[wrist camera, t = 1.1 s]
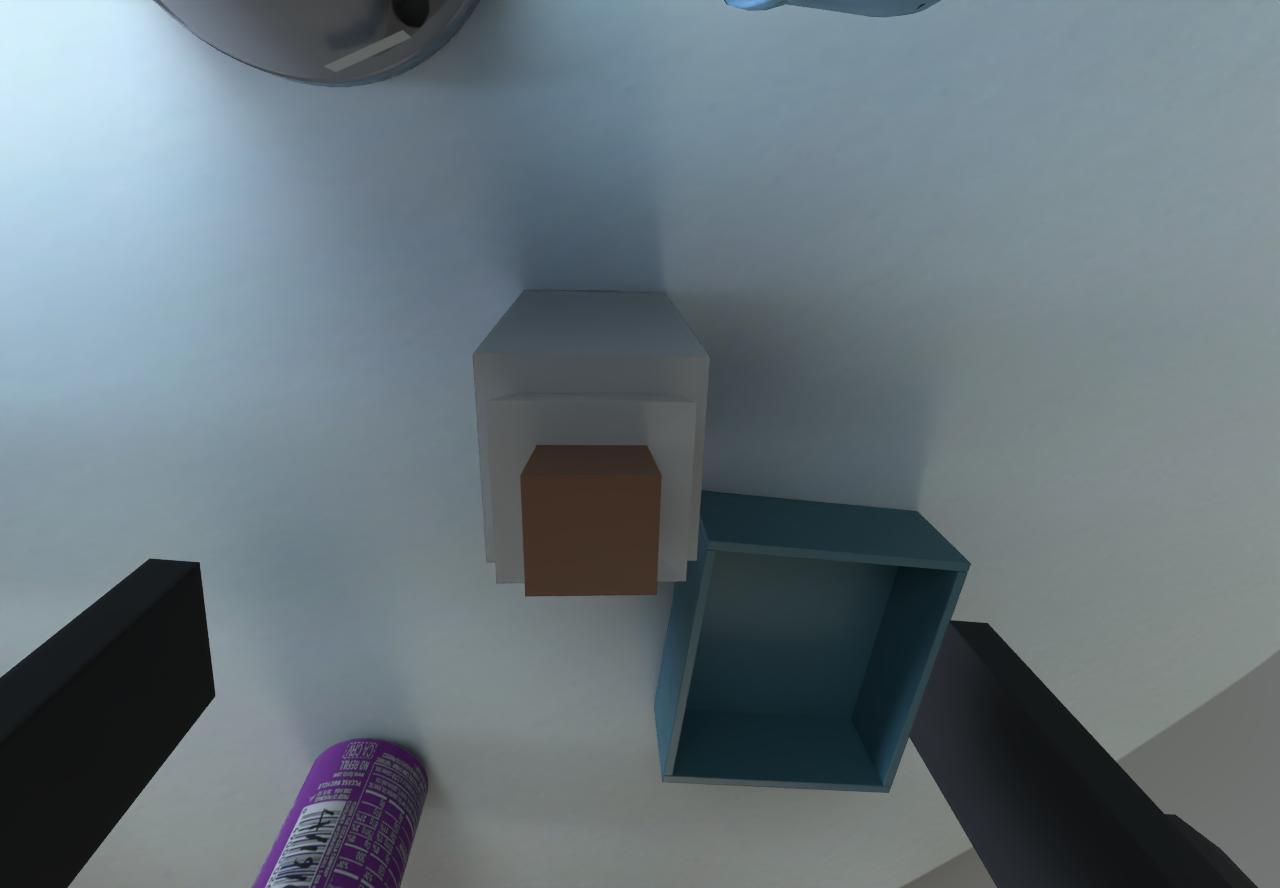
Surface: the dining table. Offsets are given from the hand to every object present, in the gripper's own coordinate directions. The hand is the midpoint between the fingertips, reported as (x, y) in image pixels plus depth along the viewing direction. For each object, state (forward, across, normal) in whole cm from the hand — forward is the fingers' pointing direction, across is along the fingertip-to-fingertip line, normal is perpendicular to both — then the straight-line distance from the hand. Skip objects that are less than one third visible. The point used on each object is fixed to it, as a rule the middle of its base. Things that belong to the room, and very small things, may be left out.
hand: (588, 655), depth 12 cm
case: (+22, +12, -14) cm, 29 cm away
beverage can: (+22, -11, -28) cm, 37 cm away
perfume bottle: (+22, 0, 0) cm, 22 cm away
